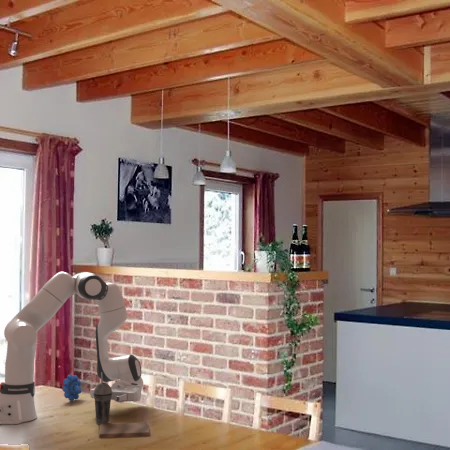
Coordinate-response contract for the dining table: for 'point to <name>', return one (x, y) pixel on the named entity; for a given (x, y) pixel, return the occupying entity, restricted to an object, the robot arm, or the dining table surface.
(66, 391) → the grapes
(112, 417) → the dining table surface
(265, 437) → the dining table surface
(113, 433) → the walnut board
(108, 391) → the beverage cup
